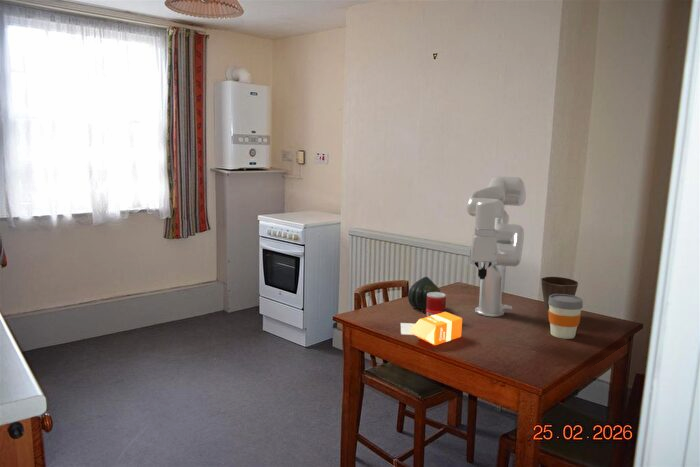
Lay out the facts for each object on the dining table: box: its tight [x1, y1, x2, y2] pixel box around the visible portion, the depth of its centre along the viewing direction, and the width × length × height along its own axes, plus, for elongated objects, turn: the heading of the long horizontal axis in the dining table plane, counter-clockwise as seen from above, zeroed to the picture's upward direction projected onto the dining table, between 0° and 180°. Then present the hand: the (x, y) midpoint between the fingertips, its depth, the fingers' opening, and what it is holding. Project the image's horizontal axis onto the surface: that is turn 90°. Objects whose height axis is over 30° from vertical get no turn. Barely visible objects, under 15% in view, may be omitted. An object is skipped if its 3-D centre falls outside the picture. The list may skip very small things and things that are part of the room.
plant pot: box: [541, 276, 579, 317], centre depth 226 cm, size 15×15×16 cm
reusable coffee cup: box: [548, 294, 584, 340], centre depth 203 cm, size 13×13×15 cm
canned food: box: [425, 291, 447, 317], centre depth 220 cm, size 8×8×11 cm
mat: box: [400, 322, 416, 336], centre depth 207 cm, size 17×13×1 cm
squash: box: [407, 276, 442, 312], centre depth 235 cm, size 14×15×15 cm
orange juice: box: [409, 311, 463, 346], centre depth 196 cm, size 8×9×20 cm
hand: (482, 278), depth 203 cm, fingers closed
